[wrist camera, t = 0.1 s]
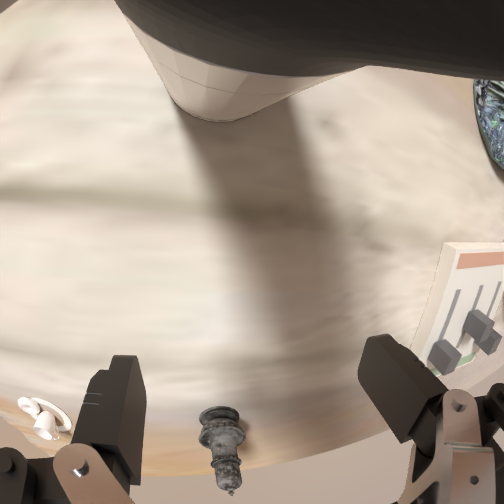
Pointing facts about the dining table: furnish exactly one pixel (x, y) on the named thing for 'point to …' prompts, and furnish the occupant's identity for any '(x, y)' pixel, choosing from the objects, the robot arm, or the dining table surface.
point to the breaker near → (444, 357)
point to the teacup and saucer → (44, 417)
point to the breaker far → (490, 342)
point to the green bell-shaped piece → (491, 116)
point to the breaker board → (460, 297)
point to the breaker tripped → (478, 325)
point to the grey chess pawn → (223, 444)
